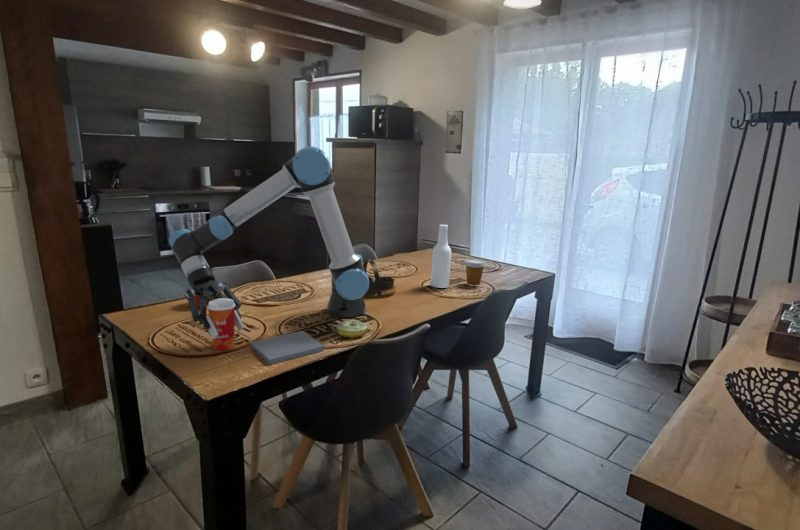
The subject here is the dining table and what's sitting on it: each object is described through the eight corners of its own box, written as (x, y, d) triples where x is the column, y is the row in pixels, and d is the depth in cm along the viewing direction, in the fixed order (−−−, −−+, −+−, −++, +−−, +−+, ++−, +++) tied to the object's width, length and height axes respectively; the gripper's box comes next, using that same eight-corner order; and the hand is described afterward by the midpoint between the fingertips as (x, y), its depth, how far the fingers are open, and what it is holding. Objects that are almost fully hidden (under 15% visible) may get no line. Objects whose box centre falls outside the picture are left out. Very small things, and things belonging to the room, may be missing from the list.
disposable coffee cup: (486, 286, 222) (488, 263, 219) (469, 288, 218) (471, 264, 215) (476, 281, 230) (478, 258, 227) (460, 282, 227) (461, 259, 224)
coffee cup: (203, 348, 142) (200, 302, 138) (225, 339, 149) (222, 295, 145) (223, 354, 138) (220, 307, 135) (243, 345, 145) (241, 300, 142)
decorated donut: (371, 330, 162) (372, 321, 161) (358, 341, 152) (358, 331, 151) (345, 325, 165) (346, 316, 165) (331, 336, 156) (331, 325, 155)
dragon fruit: (196, 305, 185) (210, 316, 177) (178, 297, 178) (192, 309, 171) (208, 287, 186) (222, 298, 179) (191, 278, 179) (205, 289, 172)
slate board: (302, 334, 155) (302, 330, 155) (324, 350, 144) (324, 346, 144) (251, 346, 144) (250, 342, 144) (269, 364, 133) (269, 359, 133)
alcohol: (429, 288, 215) (432, 225, 208) (432, 283, 224) (435, 223, 216) (447, 290, 213) (451, 227, 206) (450, 285, 222) (454, 224, 214)
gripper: (224, 273, 156) (253, 329, 151) (161, 285, 140) (192, 348, 134) (232, 261, 152) (262, 318, 146) (168, 272, 136) (200, 336, 130)
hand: (229, 332), depth 140 cm, fingers closed on coffee cup, 8 cm apart
